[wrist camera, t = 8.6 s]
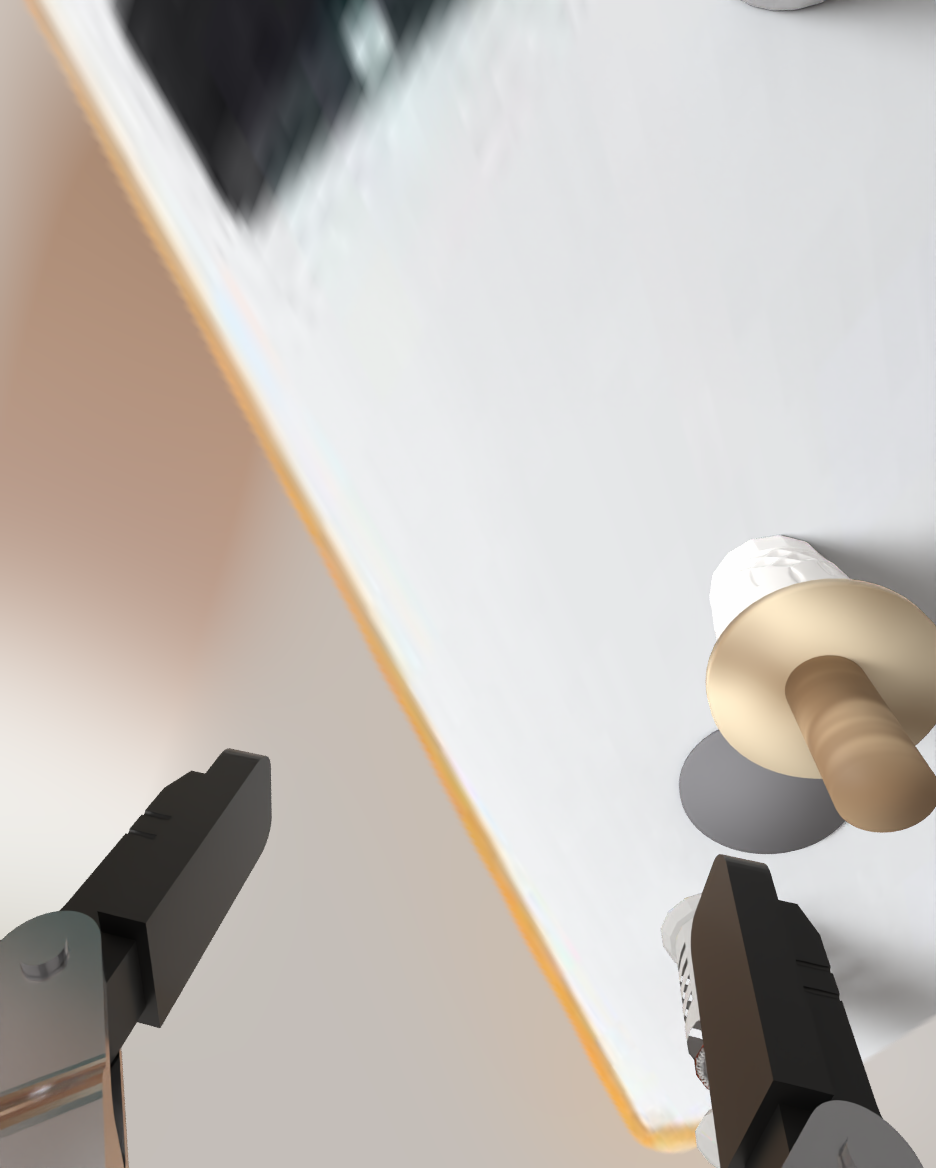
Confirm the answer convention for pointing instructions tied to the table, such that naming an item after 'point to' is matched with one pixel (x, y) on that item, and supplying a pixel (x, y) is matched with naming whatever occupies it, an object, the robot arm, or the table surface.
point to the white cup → (763, 574)
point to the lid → (833, 695)
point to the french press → (690, 1008)
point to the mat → (752, 801)
